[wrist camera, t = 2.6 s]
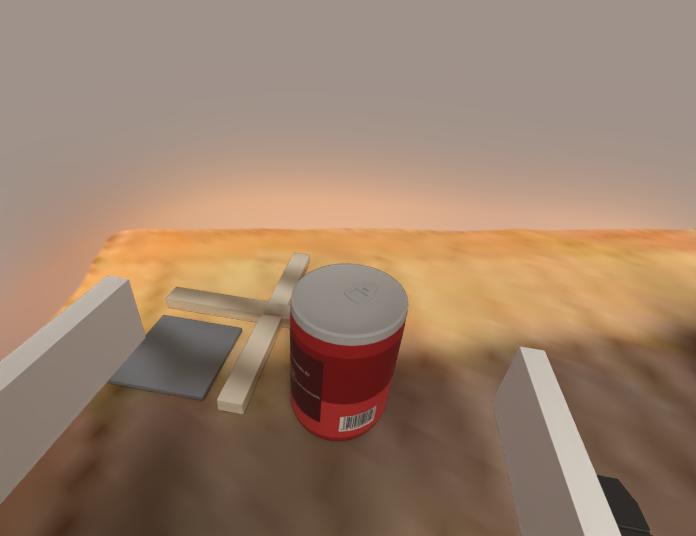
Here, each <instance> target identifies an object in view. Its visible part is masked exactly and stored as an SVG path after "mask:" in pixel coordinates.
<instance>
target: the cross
mask: <svg viewBox="0 0 696 536" xmlns="http://www.w3.org/2000/svg"><path fill="white" fill-rule="evenodd" d="M309 263H310V255H308V254H302V253H295V252H294V254H293V256H292V258H291V260H290V262H289V264H288V265H287V267H286V269H285V271H284V273H283V275H282V277H281V279H280V281H279V283H278V284H277V286H276V288H275V290H274V292H273V294H272V296H271V298H270V300H269V301H268V302H267V301H260V300H254V299H248V298H242V297H236V296H230V295H224V294H218V293H212V292H206V291H199V290H193V289H187V288H181V287H176V288H175V289H174V290H173V291H172V292H171V293H170V294H169V295H168V296H167V297H166V302H167V306H168V308H174V309H180V310H186V311H192V312H198V313H204V314H210V315H215V316H221V317H227V318H233V319H239V320H245V321H251V322H257V324H256V326H255V328H254V330H253V332H252V334H251V336H250V338H249V339H248V341H247V343H246V345H245V347H244V349H243V351H242V353H241V355H240V357H239V358H238V360H237V362H236V364H235V366H234V368H233V370H232V372H231V374H230V376H229V377H228V379H227V381H226V383H225V385H224V387H223V389H222V391H221V393H220V395H219V396H218V398H217V405H218V410H223V411H228V412H233V413H239V414H244V411H245V409H246V407H247V404H248V402H249V400H250V398H251V395H252V393H253V391H254V389H255V386H256V384H257V382H258V379H259V377H260V375H261V373H262V370H263V368H264V366H265V363H266V361H267V359H268V357H269V354H270V352H271V350H272V347H273V345H274V343H275V341H276V338H277V336H278V334H279V332H280V329H281V327H287V328H290V301H291V294H292V291H293V288H294V286H295V285H296V284H297V282H298V281H299V280H300V279H301V278H302V277H303V276H304V274H305V272H306V270H307V268H308V265H309ZM241 332H242V328H238V327H232V326H226V325H220V324H214V323H208V322H202V321H197V320H191V319H185V318H179V317H173V316H167V315H163V316H162V317H161V318H160V319H159V321H158V322H157V323H156V324H155V325H154V326H153V327H152V329H151V330H150V331H149V332H148V333H147V334H146V338H145V339H144V340H143V341H142V342H141V343H140V345H139V346H138V347H137V348H136V349H135V350H134V352H133V353H132V354H131V355H130V356H129V357H128V358H127V360H126V361H125V362H124V363H123V364H122V365H121V366H120V368H119V369H118V370H117V371H116V372H115V373H114V375H113V376H112V377H111V378H110V379H109V380H108V383H111V384H116V385H121V386H127V387H132V388H137V389H143V390H148V391H153V392H159V393H164V394H169V395H175V396H180V397H185V398H191V399H196V400H201V401H203V400H204V398H205V396H206V395H207V393H208V391H209V389H210V387H211V386H212V384H213V382H214V380H215V379H216V377H217V375H218V373H219V371H220V370H221V368H222V366H223V364H224V363H225V361H226V359H227V357H228V355H229V354H230V352H231V350H232V348H233V347H234V345H235V343H236V341H237V339H238V338H239V336H240V334H241Z"/></svg>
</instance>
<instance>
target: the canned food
mask: <svg viewBox="0 0 696 536" xmlns="http://www.w3.org/2000/svg"><path fill="white" fill-rule="evenodd" d="M407 308H408V297H407V295H406V292H405V290H404V289H403V287H402V286H401V284H400V283H398V282H397V281H396V280H395V279H394V278H393V277H391V276H390V275H388V274H387V273H384V272H382V271H380V270H378V269H375V268H372V267H369V266H364V265H358V264H335V265H328V266H324V267H321V268H318V269H316V270H313V271H311V272H309V273H308V274H306V275H304V276H303V277H302V278H301V279H300V280H299V281H298V282H297V284H296V285H295V286H294V288H293V291H292V294H291V301H290V360H291V403H292V407H293V410H294V412H295V414H296V416H297V418H298V420H299V421H300V423H301V424H302V425H303V426H304V427H305V428H306V429H307V430H308V431H309V432H311V433H312V434H314V435H316V436H318V437H320V438H324V439H327V440H335V441H342V440H349V439H352V438H356V437H358V436H360V435H362V434H364V433H366V432H367V431H368V430H369V429H370V428H372V427H373V426H374V424H375V423H376V422H377V421H378V419H379V418H380V417H381V415H382V413H383V411H384V409H385V406H386V402H387V398H388V394H389V389H390V385H391V381H392V377H393V373H394V369H395V364H396V360H397V356H398V352H399V348H400V344H401V339H402V335H403V331H404V326H405V321H406V317H407V312H408V310H407Z"/></svg>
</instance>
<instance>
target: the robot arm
mask: <svg viewBox="0 0 696 536" xmlns="http://www.w3.org/2000/svg"><path fill="white" fill-rule="evenodd" d="M145 338H146V336H145V333H144V330H143V326H142V323H141V319H140V316H139V313H138V309H137V306H136V302H135V299H134V296H133V292H132V289H131V286H130V282H129V279H125V278H119V277H113V276H106V277H105V278H104V279H103V280H101V281H100V282H99V283H98V284H96V285H95V286H94V287H93V288H91V289H90V290H89V291H88V292H86V293H85V294H84V295H83V296H81V297H80V298H79V299H78V300H76V301H75V302H74V303H73V304H71V305H70V306H69V307H68V308H66V309H65V310H64V311H63V312H61V313H60V314H59V315H58V316H56V317H55V318H54V319H53V320H51V321H50V322H49V323H48V324H46V325H45V326H44V327H43V328H41V329H40V330H39V331H38V332H36V333H35V334H34V335H33V336H31V337H30V338H29V339H28V340H26V341H25V342H24V343H23V344H21V345H20V346H19V347H18V348H16V349H15V350H14V351H13V352H12V353H10V354H9V355H8V356H6V357H5V358H4V359H3V360H1V361H0V504H1V503H2V502H3V501H4V500H5V499H6V497H7V496H8V495H9V494H10V493H11V492H12V490H13V489H14V488H15V487H16V486H17V485H18V484H19V482H20V481H21V480H22V479H23V478H24V477H25V476H26V474H27V473H28V472H29V471H30V470H31V469H32V468H33V466H34V465H35V464H36V463H37V462H38V461H39V459H40V458H41V457H42V456H43V455H44V454H45V453H46V451H47V450H48V449H49V448H50V447H51V446H52V445H53V443H54V442H55V441H56V440H57V439H58V438H59V437H60V435H61V434H62V433H63V432H64V431H65V430H66V428H67V427H68V426H69V425H70V424H71V423H72V422H73V420H74V419H75V418H76V417H77V416H78V415H79V414H80V412H81V411H82V410H83V409H84V408H85V407H86V406H87V404H88V403H89V402H90V401H91V400H92V399H93V397H94V396H95V395H96V394H97V393H98V392H99V391H100V389H101V388H102V387H103V386H104V385H105V384H106V383H107V381H108V380H109V379H110V378H111V377H112V376H113V375H114V373H115V372H116V371H117V370H118V369H119V368H120V366H121V365H122V364H123V363H124V362H125V361H126V360H127V358H128V357H129V356H130V355H131V354H132V353H133V352H134V350H135V349H136V348H137V347H138V346H139V345H140V343H141V342H142V341H143V340H144V339H145ZM492 402H493V407H494V411H495V416H496V420H497V425H498V429H499V434H500V439H501V443H502V448H503V452H504V457H505V462H506V466H507V471H508V475H509V480H510V485H511V489H512V494H513V498H514V503H515V508H516V512H517V517H518V521H519V526H520V530H521V535H522V536H653V535H651V534H650V532H649V531H650V529H649V527H648V525H647V523H646V521H645V519H644V516H643V514H642V512H641V510H640V508H639V506H638V504H637V502H636V501H635V500H634V499H633V497H632V496H631V495H630V494H629V492H628V491H627V490H626V489H625V487H624V486H623V485H622V484H621V482H620V481H619V480H618V479H615V478H610V477H604V476H599V475H596V473H595V471H594V468H593V466H592V464H591V461H590V459H589V456H588V454H587V452H586V449H585V447H584V444H583V442H582V440H581V437H580V435H579V432H578V430H577V428H576V425H575V423H574V420H573V418H572V416H571V413H570V411H569V408H568V406H567V404H566V401H565V399H564V396H563V394H562V392H561V389H560V387H559V384H558V382H557V380H556V377H555V375H554V372H553V370H552V368H551V365H550V363H549V360H548V358H547V356H546V353H545V351H543V350H537V349H531V348H525V347H519V349H518V351H517V353H516V355H515V357H514V359H513V361H512V363H511V365H510V367H509V369H508V371H507V373H506V375H505V377H504V379H503V381H502V383H501V385H500V387H499V389H498V391H497V393H496V395H495V397H494V398H493V400H492Z"/></svg>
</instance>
